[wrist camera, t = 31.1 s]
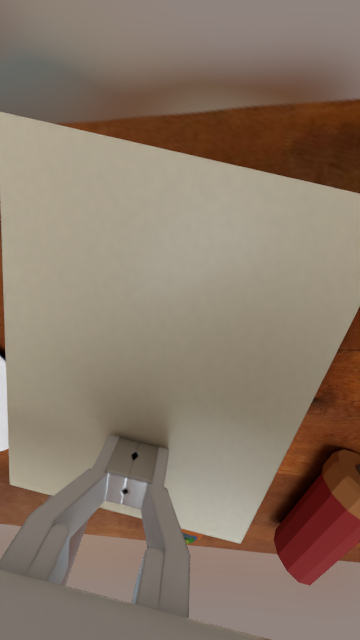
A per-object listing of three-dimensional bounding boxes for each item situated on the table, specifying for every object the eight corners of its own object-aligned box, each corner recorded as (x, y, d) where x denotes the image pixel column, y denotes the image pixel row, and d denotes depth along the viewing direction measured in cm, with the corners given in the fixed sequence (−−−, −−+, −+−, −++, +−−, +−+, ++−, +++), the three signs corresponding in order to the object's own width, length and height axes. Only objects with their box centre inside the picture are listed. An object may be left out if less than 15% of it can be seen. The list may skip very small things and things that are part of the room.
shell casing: (371, 454, 27) (426, 517, 21) (304, 532, 34) (330, 600, 27) (324, 440, 27) (364, 499, 21) (266, 521, 34) (283, 586, 27)
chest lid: (238, 526, 12) (241, 544, 11) (21, 471, 12) (9, 485, 11) (388, 211, 7) (412, 204, 6) (17, 126, 7) (-5, 109, 6)
